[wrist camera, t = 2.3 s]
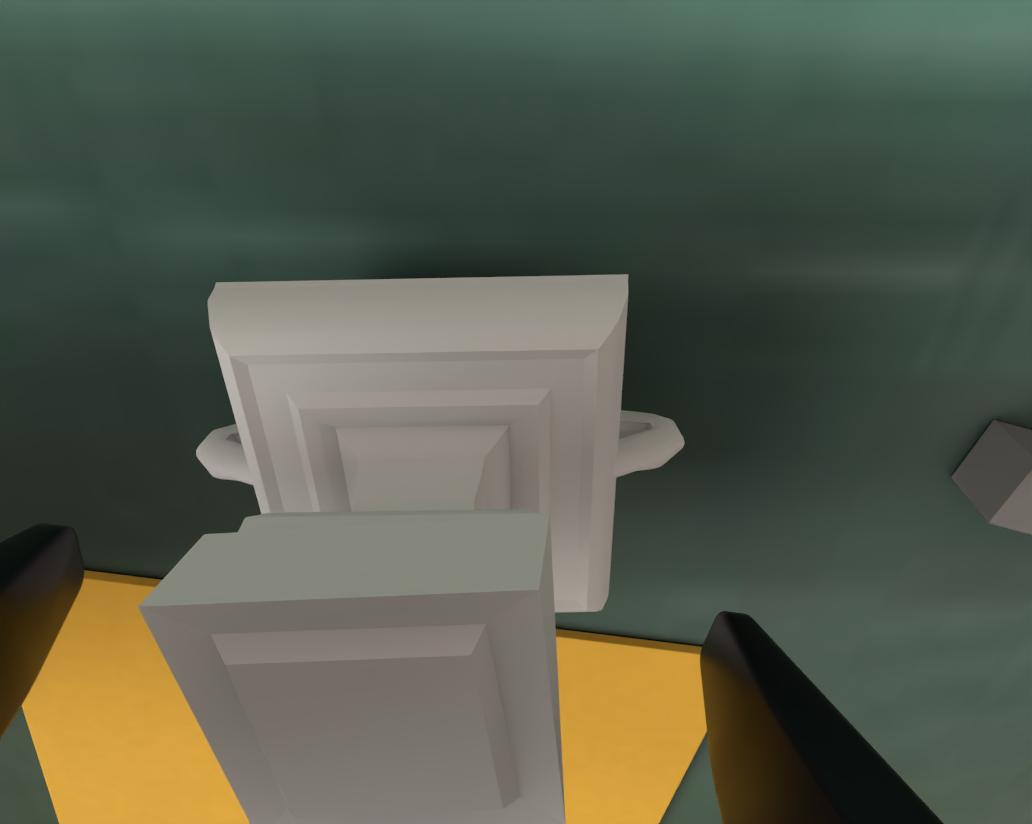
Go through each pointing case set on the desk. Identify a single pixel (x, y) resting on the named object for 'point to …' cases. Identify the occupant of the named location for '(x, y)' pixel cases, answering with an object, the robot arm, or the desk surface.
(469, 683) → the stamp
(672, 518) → the desk surface
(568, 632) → the cloth
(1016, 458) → the submachine gun
